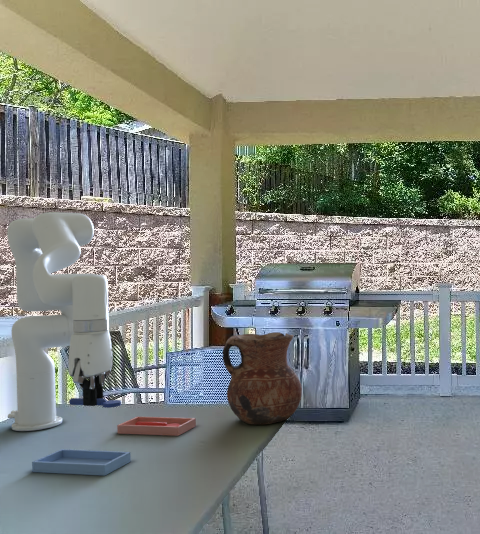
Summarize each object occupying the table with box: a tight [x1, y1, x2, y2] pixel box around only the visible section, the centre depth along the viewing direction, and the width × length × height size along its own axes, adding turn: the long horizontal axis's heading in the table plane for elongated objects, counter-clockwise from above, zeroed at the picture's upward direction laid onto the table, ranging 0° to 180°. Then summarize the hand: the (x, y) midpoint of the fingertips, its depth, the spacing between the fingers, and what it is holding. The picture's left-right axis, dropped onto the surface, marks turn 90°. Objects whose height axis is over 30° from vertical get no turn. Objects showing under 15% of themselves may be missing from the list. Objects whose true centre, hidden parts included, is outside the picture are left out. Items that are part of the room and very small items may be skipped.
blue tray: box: [31, 448, 132, 477], centre depth 139 cm, size 18×9×2 cm, turn 80°
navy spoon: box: [68, 397, 122, 409], centre depth 143 cm, size 13×4×2 cm, turn 80°
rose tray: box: [116, 416, 197, 437], centre depth 168 cm, size 18×9×2 cm, turn 80°
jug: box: [222, 331, 303, 426], centre depth 177 cm, size 22×21×25 cm
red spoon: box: [135, 422, 180, 427], centre depth 168 cm, size 13×4×2 cm, turn 80°
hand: (93, 403), depth 143 cm, fingers closed on navy spoon, 1 cm apart
